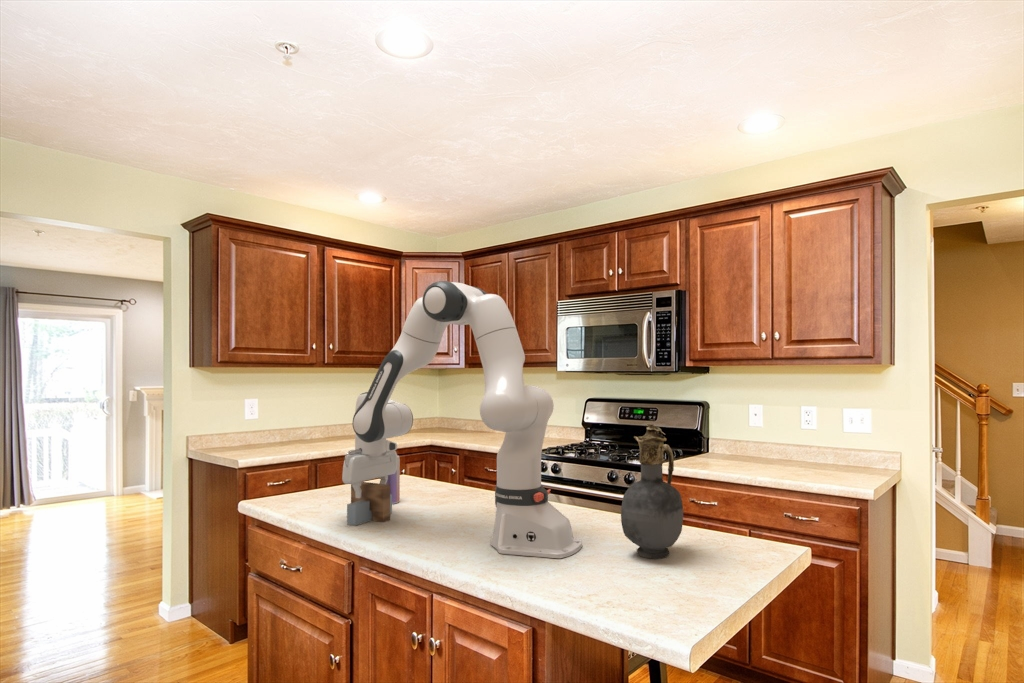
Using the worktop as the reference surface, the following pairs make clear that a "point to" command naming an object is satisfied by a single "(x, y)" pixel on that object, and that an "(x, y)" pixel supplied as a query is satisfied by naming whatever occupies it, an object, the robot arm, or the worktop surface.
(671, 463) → the pitcher
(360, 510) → the notched grey block
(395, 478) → the beverage can
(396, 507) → the worktop surface
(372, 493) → the wooden bridge block
